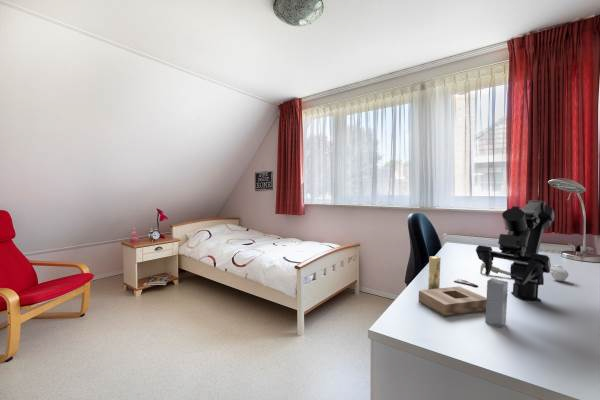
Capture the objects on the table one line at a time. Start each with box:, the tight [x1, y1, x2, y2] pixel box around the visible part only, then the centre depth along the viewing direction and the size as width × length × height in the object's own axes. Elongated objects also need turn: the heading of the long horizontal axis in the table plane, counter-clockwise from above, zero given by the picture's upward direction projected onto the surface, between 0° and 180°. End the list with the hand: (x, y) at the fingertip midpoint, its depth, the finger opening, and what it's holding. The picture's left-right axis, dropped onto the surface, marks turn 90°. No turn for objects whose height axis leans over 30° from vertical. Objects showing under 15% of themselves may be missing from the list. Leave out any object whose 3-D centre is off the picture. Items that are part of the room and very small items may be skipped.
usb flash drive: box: [453, 278, 479, 288], centre depth 115 cm, size 9×5×1 cm, turn 17°
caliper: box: [479, 262, 511, 277], centre depth 124 cm, size 20×1×6 cm, turn 55°
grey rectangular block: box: [484, 278, 509, 330], centre depth 80 cm, size 4×4×13 cm
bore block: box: [418, 286, 487, 318], centre depth 92 cm, size 18×12×4 cm, turn 105°
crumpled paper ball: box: [549, 264, 570, 282], centre depth 120 cm, size 6×7×7 cm
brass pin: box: [427, 255, 441, 290], centre depth 107 cm, size 4×4×13 cm
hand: (504, 279), depth 84 cm, fingers open, 9 cm apart
